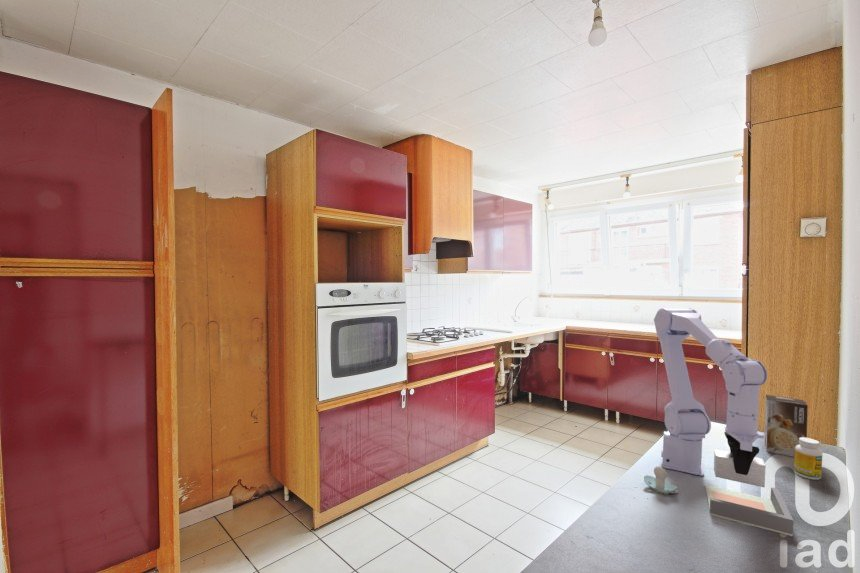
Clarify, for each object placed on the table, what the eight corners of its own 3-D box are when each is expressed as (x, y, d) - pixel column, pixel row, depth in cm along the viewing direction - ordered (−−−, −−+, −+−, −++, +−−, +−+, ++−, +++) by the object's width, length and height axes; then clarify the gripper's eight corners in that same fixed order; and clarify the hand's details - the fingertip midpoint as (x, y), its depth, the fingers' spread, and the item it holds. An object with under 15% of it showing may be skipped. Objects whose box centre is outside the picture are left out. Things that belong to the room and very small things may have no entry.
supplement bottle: (797, 468, 112) (799, 434, 112) (823, 476, 108) (825, 441, 107) (790, 473, 109) (792, 438, 109) (817, 482, 105) (819, 446, 104)
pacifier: (651, 480, 106) (640, 487, 102) (652, 456, 105) (642, 462, 102) (682, 492, 100) (672, 500, 96) (683, 467, 100) (673, 474, 96)
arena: (710, 514, 90) (710, 499, 90) (705, 485, 103) (705, 472, 102) (792, 536, 83) (793, 520, 83) (776, 502, 95) (777, 488, 95)
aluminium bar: (761, 479, 94) (762, 458, 94) (764, 487, 91) (765, 465, 90) (713, 469, 99) (714, 449, 98) (715, 476, 95) (716, 455, 95)
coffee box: (802, 452, 122) (805, 399, 122) (806, 460, 117) (809, 405, 116) (763, 444, 128) (765, 394, 127) (765, 451, 122) (767, 399, 122)
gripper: (771, 425, 85) (768, 488, 86) (758, 406, 98) (755, 461, 99) (730, 419, 89) (727, 479, 90) (722, 400, 102) (720, 454, 102)
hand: (739, 469), depth 94 cm, fingers closed on aluminium bar, 4 cm apart
